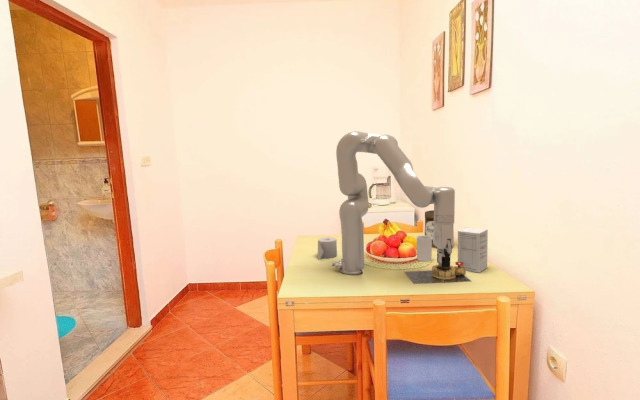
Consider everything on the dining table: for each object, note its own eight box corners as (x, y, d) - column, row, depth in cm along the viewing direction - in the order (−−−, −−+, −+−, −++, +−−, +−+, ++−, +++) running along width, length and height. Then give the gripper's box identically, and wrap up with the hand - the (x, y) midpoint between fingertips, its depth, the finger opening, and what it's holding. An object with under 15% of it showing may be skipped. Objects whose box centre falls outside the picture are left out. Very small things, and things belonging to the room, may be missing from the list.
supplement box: (488, 267, 151) (488, 229, 149) (479, 273, 144) (480, 233, 142) (465, 263, 158) (466, 226, 155) (456, 268, 151) (457, 230, 149)
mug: (431, 265, 157) (431, 239, 155) (416, 264, 159) (416, 238, 157) (432, 258, 166) (432, 234, 165) (417, 258, 168) (417, 233, 167)
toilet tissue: (316, 261, 170) (315, 243, 168) (320, 253, 183) (319, 237, 182) (334, 261, 168) (334, 243, 167) (337, 253, 181) (337, 237, 180)
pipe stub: (439, 273, 136) (440, 250, 135) (435, 269, 141) (435, 247, 139) (451, 272, 136) (451, 250, 135) (447, 268, 141) (447, 247, 139)
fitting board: (413, 287, 131) (413, 270, 131) (404, 275, 145) (403, 259, 145) (471, 285, 132) (472, 268, 131) (456, 272, 146) (456, 257, 145)
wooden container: (423, 247, 187) (423, 206, 184) (426, 240, 200) (426, 202, 198) (452, 249, 181) (453, 207, 178) (453, 242, 194) (454, 203, 192)
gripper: (427, 215, 144) (427, 258, 146) (442, 223, 127) (441, 272, 130) (445, 215, 144) (444, 258, 146) (462, 222, 127) (461, 271, 130)
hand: (443, 264), depth 138 cm, fingers closed on pipe stub, 3 cm apart
